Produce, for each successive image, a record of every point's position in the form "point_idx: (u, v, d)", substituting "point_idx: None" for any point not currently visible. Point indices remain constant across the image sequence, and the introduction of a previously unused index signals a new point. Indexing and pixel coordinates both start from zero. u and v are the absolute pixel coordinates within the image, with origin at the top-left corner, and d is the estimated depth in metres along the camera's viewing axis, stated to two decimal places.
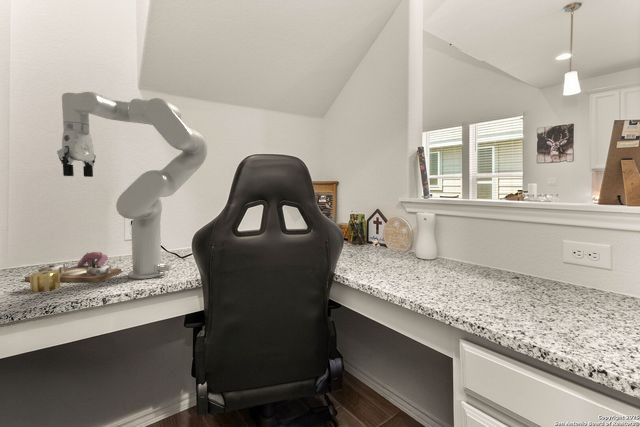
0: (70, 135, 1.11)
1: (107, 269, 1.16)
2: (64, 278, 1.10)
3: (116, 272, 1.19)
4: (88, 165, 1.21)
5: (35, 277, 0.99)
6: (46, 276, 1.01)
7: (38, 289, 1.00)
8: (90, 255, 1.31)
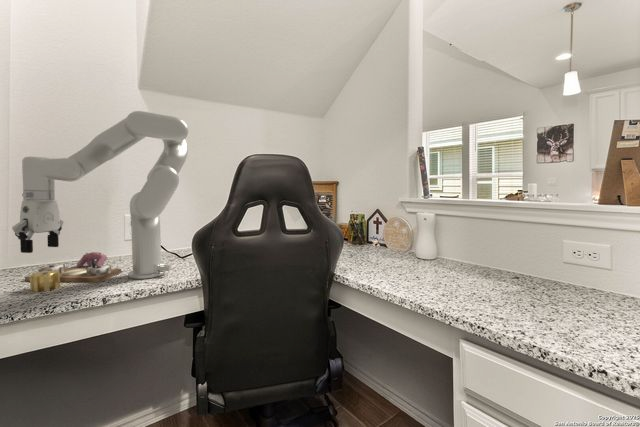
0: (30, 206, 0.96)
1: (107, 269, 1.16)
2: (64, 278, 1.10)
3: (116, 272, 1.19)
4: (53, 234, 1.06)
5: (35, 277, 0.99)
6: (46, 276, 1.01)
7: (38, 289, 1.00)
8: (89, 255, 1.30)
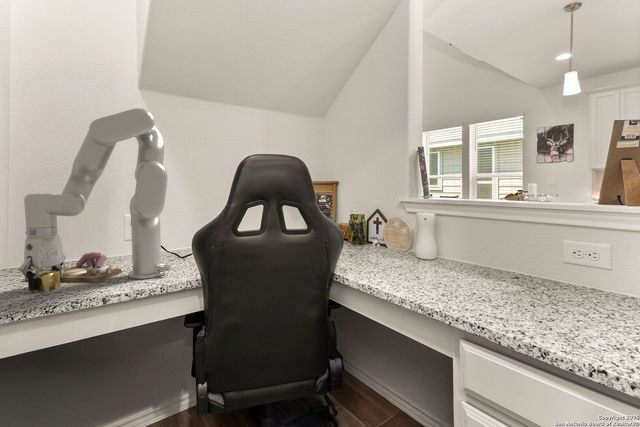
0: (33, 244, 0.97)
1: (107, 269, 1.16)
2: (64, 278, 1.10)
3: (116, 272, 1.19)
4: None
5: None
6: (46, 276, 1.01)
7: None
8: (89, 255, 1.30)
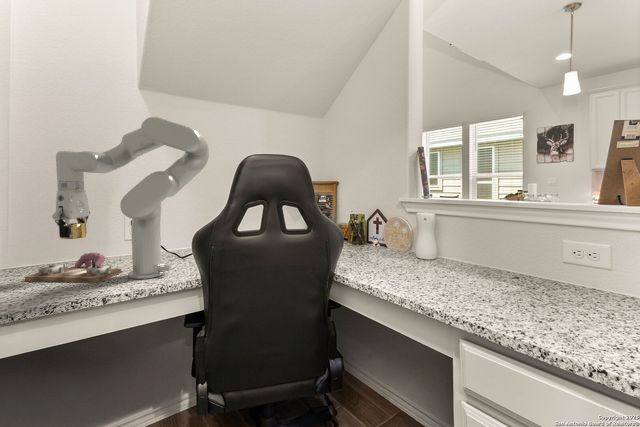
0: (64, 195, 1.09)
1: (107, 269, 1.16)
2: (64, 278, 1.10)
3: (116, 272, 1.19)
4: (81, 222, 1.18)
5: None
6: (74, 225, 1.12)
7: None
8: (87, 256, 1.29)
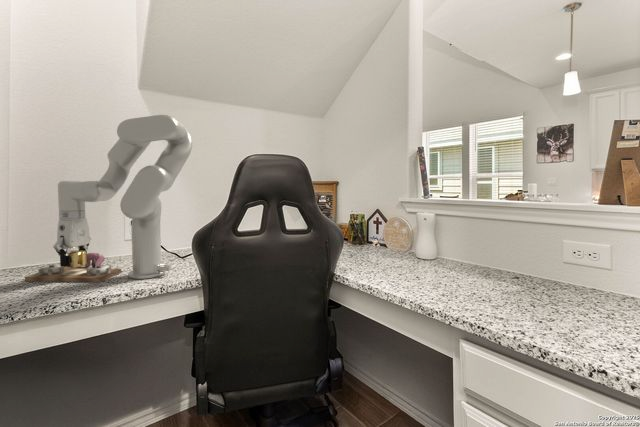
0: (66, 225, 1.10)
1: (107, 269, 1.16)
2: (64, 278, 1.10)
3: (116, 272, 1.19)
4: (82, 249, 1.19)
5: None
6: (75, 254, 1.13)
7: None
8: (87, 256, 1.29)
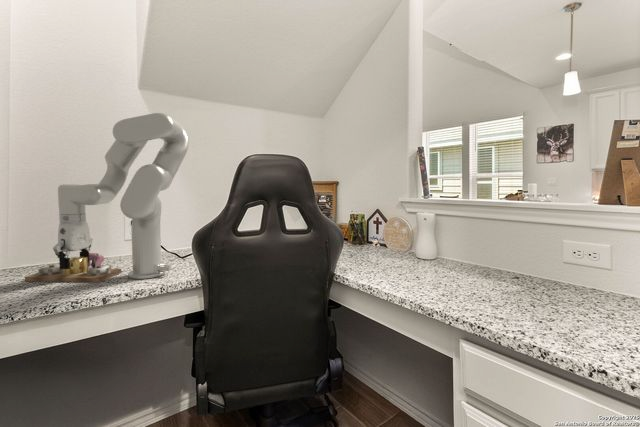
0: (66, 228, 1.10)
1: (107, 269, 1.16)
2: (64, 278, 1.10)
3: (116, 272, 1.19)
4: (84, 251, 1.20)
5: None
6: (77, 261, 1.13)
7: (70, 272, 1.13)
8: None
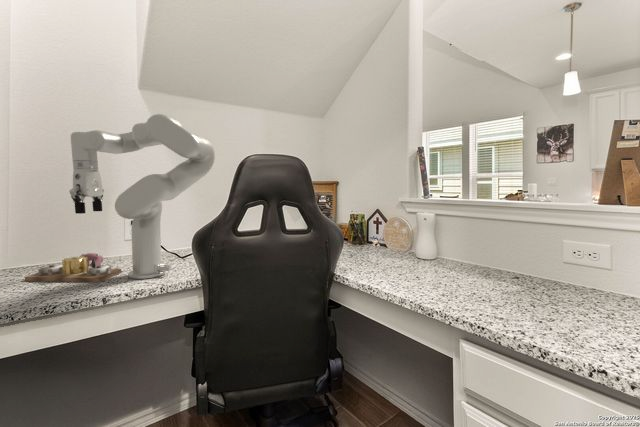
0: (81, 173, 1.14)
1: (107, 269, 1.16)
2: (64, 278, 1.10)
3: (116, 272, 1.19)
4: (97, 200, 1.24)
5: (67, 262, 1.12)
6: (77, 261, 1.13)
7: (70, 272, 1.13)
8: (85, 256, 1.28)
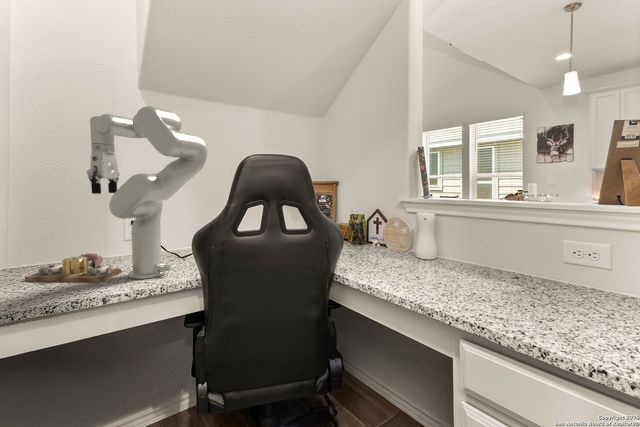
0: (98, 156, 1.20)
1: (107, 269, 1.16)
2: (64, 278, 1.10)
3: (116, 272, 1.19)
4: (113, 182, 1.30)
5: (67, 262, 1.12)
6: (77, 261, 1.13)
7: (70, 272, 1.13)
8: None
